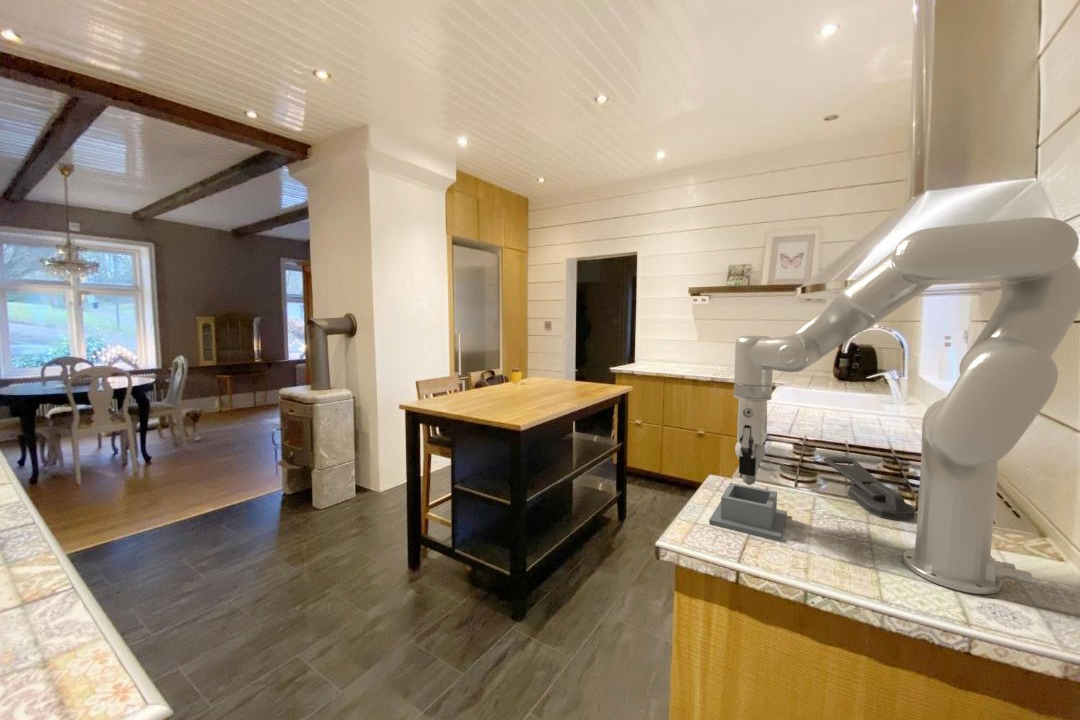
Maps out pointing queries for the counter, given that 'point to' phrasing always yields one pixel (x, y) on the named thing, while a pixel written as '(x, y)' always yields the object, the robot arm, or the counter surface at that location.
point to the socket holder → (750, 512)
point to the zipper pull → (872, 491)
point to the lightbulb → (758, 455)
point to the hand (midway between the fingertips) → (749, 469)
